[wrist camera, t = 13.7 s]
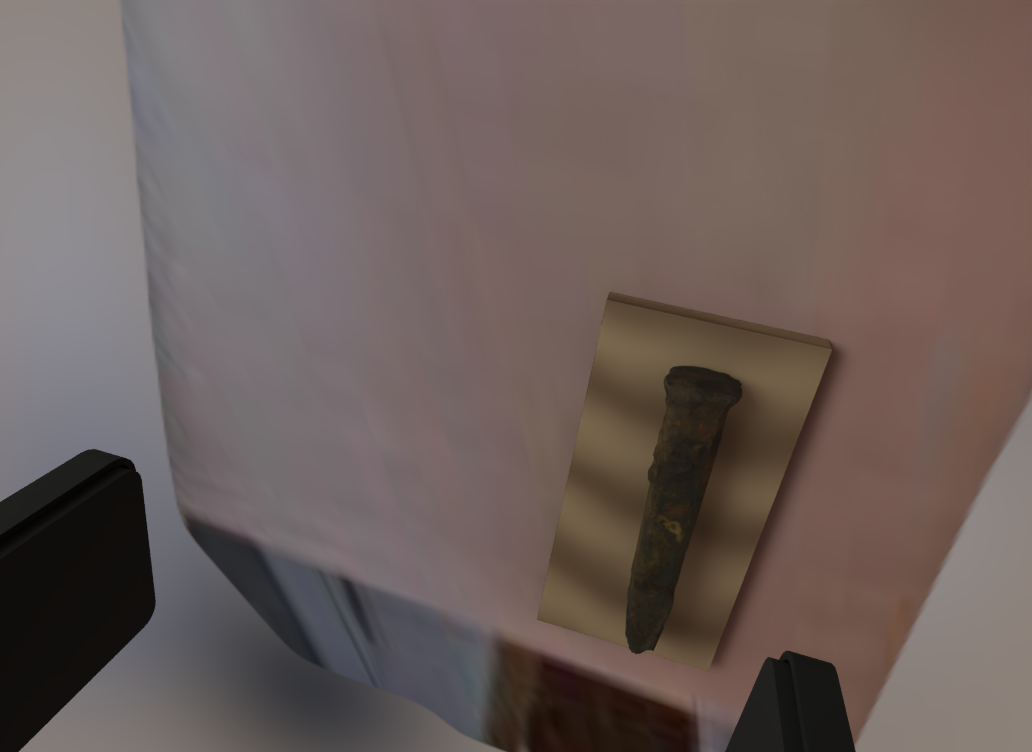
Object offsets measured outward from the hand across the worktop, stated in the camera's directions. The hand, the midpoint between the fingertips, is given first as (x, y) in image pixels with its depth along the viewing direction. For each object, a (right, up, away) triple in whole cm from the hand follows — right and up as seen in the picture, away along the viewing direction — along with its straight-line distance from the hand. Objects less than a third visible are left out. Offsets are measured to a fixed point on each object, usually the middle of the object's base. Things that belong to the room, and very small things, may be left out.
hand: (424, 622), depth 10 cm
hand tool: (+11, -4, +31) cm, 34 cm away
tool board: (+11, -4, +33) cm, 35 cm away
